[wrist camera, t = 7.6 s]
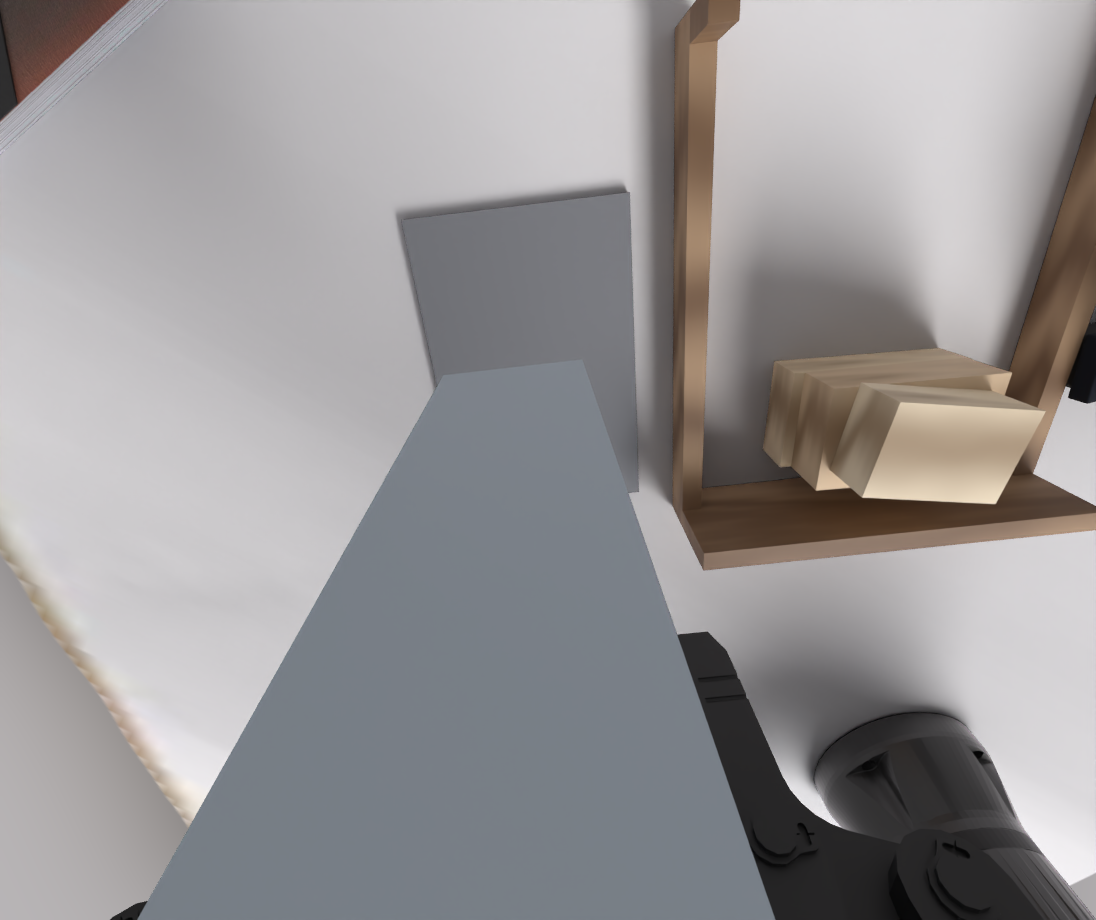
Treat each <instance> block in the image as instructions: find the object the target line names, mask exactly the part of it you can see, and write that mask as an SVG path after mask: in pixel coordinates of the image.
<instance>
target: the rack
mask: <svg viewBox="0 0 1096 920" xmlns="http://www.w3.org/2000/svg"><path fill="white" fill-rule="evenodd" d="M739 15H740V0H696V1H695V3H694V4H693V5H692V7H691V8H690V9H689V11H688V12H687V13H686V14H685V16H684V17H683V18H682V20H681V21H680V22H679V24H678V25H677V26H676V28H675V108H674V309H673V508H674V510H675V512H676V514H677V517H678V519H679V521H680V523H681V525H682V527H683V529H684V531H685V533H686V535H687V537H688V539H689V541H690V544H691V546H692V548H693V550H694V552H695V554H696V556H697V558H698V560H699V562H700V564H701V566H702V569H703V570H712V569H722V568H731V567H741V566H751V565H761V564H770V563H780V562H790V561H800V560H809V559H819V558H829V557H839V556H848V555H858V554H868V553H877V552H887V551H897V550H907V549H916V548H926V547H936V546H946V545H955V544H965V543H975V542H985V541H994V540H1004V539H1014V538H1024V537H1033V536H1043V535H1053V534H1063V533H1072V532H1082V531H1092V530H1096V506H1094V505H1093V504H1091V503H1089V502H1087V501H1085V500H1083V499H1081V498H1079V497H1077V496H1075V495H1073V494H1071V493H1069V492H1067V491H1065V490H1063V489H1061V488H1060V487H1058V486H1056V485H1054V484H1052V483H1050V482H1048V481H1046V480H1044V479H1042V478H1040V477H1038V476H1036V475H1034V474H1033V472H1034V469H1035V467H1036V464H1037V461H1038V459H1039V456H1040V453H1041V450H1042V448H1043V445H1044V442H1045V440H1046V437H1047V434H1048V432H1049V429H1050V426H1051V424H1052V421H1053V418H1054V416H1055V413H1056V410H1057V408H1058V405H1059V402H1060V399H1061V397H1062V394H1063V391H1064V389H1065V386H1066V383H1067V381H1068V378H1069V375H1070V373H1071V370H1072V367H1073V365H1074V362H1075V359H1076V357H1077V354H1078V351H1079V348H1080V346H1081V343H1082V340H1083V338H1084V335H1085V332H1086V330H1087V327H1088V324H1089V322H1090V319H1091V316H1092V314H1093V311H1094V308H1095V306H1096V97H1095V100H1094V103H1093V106H1092V110H1091V113H1090V116H1089V119H1088V122H1087V125H1086V129H1085V132H1084V135H1083V138H1082V141H1081V144H1080V148H1079V151H1078V154H1077V157H1076V160H1075V164H1074V167H1073V170H1072V173H1071V176H1070V179H1069V183H1068V186H1067V189H1066V192H1065V195H1064V198H1063V202H1062V205H1061V208H1060V211H1059V214H1058V217H1057V221H1056V224H1055V227H1054V230H1053V233H1052V236H1051V240H1050V243H1049V246H1048V249H1047V252H1046V255H1045V259H1044V262H1043V265H1042V268H1041V271H1040V275H1039V278H1038V281H1037V284H1036V287H1035V290H1034V294H1033V297H1032V300H1031V303H1030V306H1029V309H1028V313H1027V316H1026V319H1025V322H1024V325H1023V328H1022V332H1021V335H1020V338H1019V341H1018V344H1017V347H1016V351H1015V354H1014V357H1013V360H1012V363H1011V366H1010V370H1009V372H1012V375H1011V378H1010V381H1009V384H1008V387H1007V390H1006V393H1005V396H1007V397H1010V398H1013V399H1015V400H1018V401H1021V402H1023V403H1026V404H1029V405H1031V406H1034V407H1037V408H1039V409H1042V410H1045V411H1046V412H1045V414H1044V416H1043V418H1042V420H1041V421H1040V423H1039V425H1038V427H1037V429H1036V431H1035V432H1034V434H1033V436H1032V438H1031V440H1030V442H1029V443H1028V445H1027V447H1026V449H1025V451H1024V453H1023V455H1022V456H1021V458H1020V460H1019V462H1018V464H1017V466H1016V467H1015V469H1014V471H1013V473H1012V475H1011V477H1010V478H1009V480H1008V482H1007V484H1006V486H1005V488H1004V490H1003V491H1002V493H1001V495H1000V497H999V499H998V501H997V502H996V504H983V503H962V502H942V501H921V500H901V499H881V498H862V497H861V496H860V495H858V494H857V493H856V492H855V491H854V490H853V489H851V488H841V489H829V490H818V491H816V490H815V489H814V488H813V487H812V486H811V485H810V484H809V483H808V482H807V481H805V480H804V479H803V478H793V479H784V480H775V481H765V482H756V483H747V484H737V485H728V486H718V487H709V488H702V468H703V439H704V411H705V382H706V354H707V326H708V297H709V269H710V240H711V212H712V184H713V155H714V127H715V98H716V70H717V41H718V40H719V39H720V38H721V37H722V36H723V35H724V34H725V33H726V32H727V31H728V30H729V29H730V28H731V27H732V26H734V25H735V24H736V23H737V22H738V21H739Z"/></svg>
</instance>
